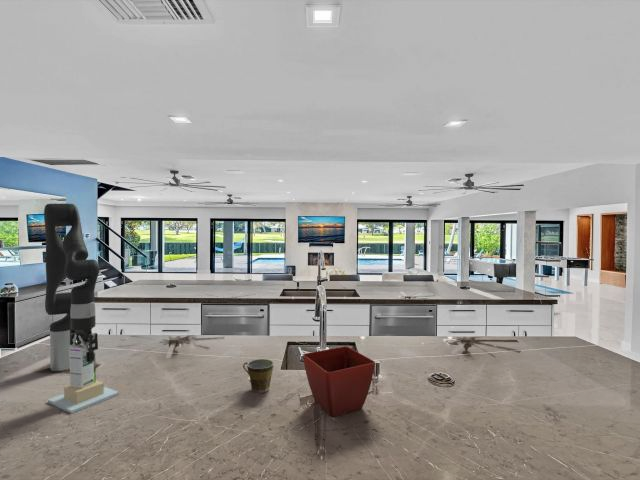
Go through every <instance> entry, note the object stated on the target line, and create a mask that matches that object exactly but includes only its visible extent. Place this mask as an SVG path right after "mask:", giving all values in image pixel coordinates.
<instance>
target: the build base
mask: <svg viewBox="0 0 640 480" xmlns="http://www.w3.org/2000/svg"><path fill="white" fill-rule="evenodd" d="M104 385H105V383H104V382H103V381H100V380H97V379H96V382H95V383H92V384H90V385H88V386H86V387H84V388H76V387H71V386H70V384H68V385H65V386H63V394H60V395H57V396H54V397H51V398H48V399H47V402H48V403H49V404H50V405H53V406H55V407H56V408H59V409H61V410H63V411H65V412H68V413H69V414H74V413H77V412H79V411H80V412H81V410H85V409H87V408H89V407H92V406H94V405H96V404H99V403H102V402H104V401H106V400H109V399H112V398H115V397H116V396H119V395H120V394H119V391H117V390H115V389H113V388H112V389H111V388H109V387H107V386H104Z"/></svg>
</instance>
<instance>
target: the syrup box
mask: <svg viewBox="0 0 640 480" xmlns="http://www.w3.org/2000/svg"><path fill="white" fill-rule="evenodd" d="M88 347H89V346H88ZM94 347H95V343H94ZM86 352H87V351H86V349H85V347H83V345H82V344H79V345H76V346H73V347H70V348H69V360H70V369H69V381H70V383H69V385H70V386H71V387H76V388H84V387H86V386H88V385H90V384H92V383H95V382H96V380H97V370H96V366H97V365H96V364H97V363H96V362H97V361H96V350H94V361H92V362H86Z"/></svg>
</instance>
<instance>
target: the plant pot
mask: <svg viewBox="0 0 640 480" xmlns="http://www.w3.org/2000/svg"><path fill="white" fill-rule="evenodd" d="M302 358H303V360H302V361H303V364H304V371H305V374H306V379H307V382H308V386H309V388H310V391H311V396H312V398H313V399H314V402H315V403H316V404H317V406H319V407H320V408H321V409H322V410H323V411H324V412H325V413H327V415H329V416H330V417H337V416H339V415H340V416H341V415H343V414H348V413H351V412H354V411H357V410H361V409H363V407H364V404H365V402H366V399H367V397H368V394H369V391H370V388H371V385H372V381H373V376H374V372H375V366H376V361H374V360H373V359H371V358H369V357H368V356H365V355H363V354H362V353H360V352H359V351H357V350H356V349H353V348H351V347H349V346H339V347H334V348H328V349H323V350H317V351H312V352H307V353H303V354H302Z"/></svg>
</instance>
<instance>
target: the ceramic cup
mask: <svg viewBox="0 0 640 480" xmlns="http://www.w3.org/2000/svg"><path fill="white" fill-rule="evenodd" d="M245 365H246V367H247V369H246V367H245ZM242 367H243V370H245V372H246V373H247V374H248V376H249V380H250V388H251V390H252V391H251V392H253V393H257V394H261V393H267V391H269V390H270V387H271V381H272V380H271V379H272V375H273V370H274V362H273V361H272V360H270V359H266V358H258V359H257V358H256V359H253V360H250V361H248V362H247V361H246V362H244V363H243V364H242Z"/></svg>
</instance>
